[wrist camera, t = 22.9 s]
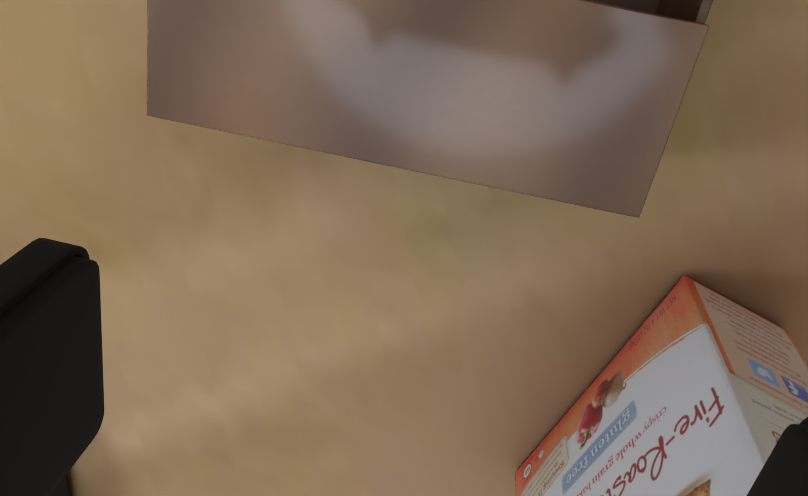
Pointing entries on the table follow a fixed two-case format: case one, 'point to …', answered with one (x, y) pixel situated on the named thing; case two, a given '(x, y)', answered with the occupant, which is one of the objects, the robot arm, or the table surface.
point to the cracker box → (678, 407)
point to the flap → (437, 86)
